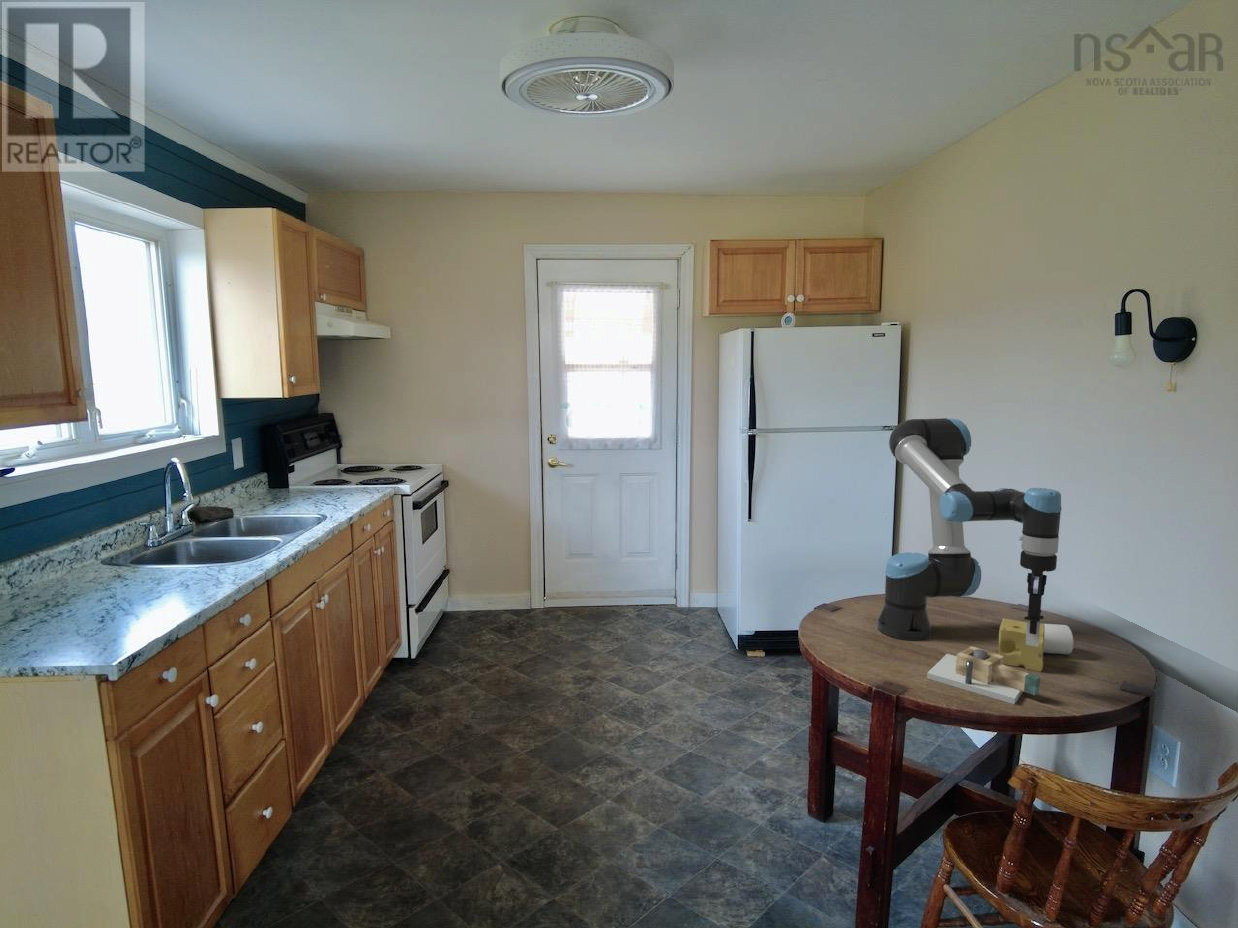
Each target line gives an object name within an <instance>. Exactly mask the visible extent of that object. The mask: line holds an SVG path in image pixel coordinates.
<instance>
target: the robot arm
mask: <svg viewBox="0 0 1238 928" xmlns="http://www.w3.org/2000/svg"><path fill="white" fill-rule="evenodd" d="M888 443H889V444H888V445H889V449H890V452H891V454H892V456H893V457H894V458H895V459H896V460H897V461H898V462H899V463H900V464H903V465H906V466H907V467H908V468H909V469H910V470H911V471H912V472H913V473H914V474H915V475H916V476H917V477H918V479H920V480H921V481H922V482H923V483H924V485H925V486H927V488H928V489H929V490H928V492H929V504H930V505H929V506H930V522H931V524H930V525H931V535H932V537H931V538H932V547H931V548H930V549H929V550H928V551H927V553H928V554H927V555H926V554H924V553H920V552H910V551H909V552H901V553H897V554H893V555H891V556H890V557H889V558H888V559H887V562H886V567H885V587H884V590H885V591H884V605H883V607H882V609H881V611H880V614H879V616H878V618H877V624H876V625H877V628H876V629H877V630H878V631H879V632H880V633H882V634H883V635H886V636H888V637H891V638H895V639H898V640H904V641H905V640H906V641H921V640H927V639H929V638H930V637H931V636H932V624H931V621H930V617H929V614H928V610H927V603H928V601H927V600H928V598H929V599H930V598H961V597H969V596H971V595H973V594H975V593H976V591H978V589H979V587H980V585H981V580H982V568H981V565H979V562H978V560H977V559H976V558H975V557H972V555H971V554H972V553H971V550H969V548H967V547H966V545H965V533H964V523H966V522H981V521H982V522H983V521H986V522H987V521H988V522H989V521H991V522H992V521H1014V522H1016V523H1017V522H1018V523H1021V524H1022V532H1021V533H1022V536H1019V538H1018V540H1019V541H1021V549H1022V551H1021V552H1020V560H1019V564H1020V567H1022V568H1023V569H1027V570H1031V572H1027V579H1026V582H1027V593H1028V597H1029V598H1028V609H1027V610H1028V611H1027V616H1024V618H1023V620H1026V622H1027V631H1026V645H1031V646H1036V647H1038V645H1039V633H1040V623H1041V620H1044V618H1045V615H1041V613H1042V610H1041V609H1042V597H1043V596H1044V594H1045V591H1046V590H1045V587H1046V585H1047V577H1048V575H1046V574H1044V572H1053V571H1055V570H1056V569H1057V564H1058V563H1057V561H1058V556H1057V555H1056V554H1057V553H1058V552H1059V542H1060V541H1059V538H1060V537H1059V535H1060V525H1061V515H1062V514H1061V513H1062V494H1061V493H1060V491H1059V490H1056V489H1052V488H1045V487H1044V488H1043V487H1032V488H1027V489H1026V490H1025V492H1024V491H1019V490H1016V489H1014V488H1007V487H1006V488H1004V487H1002V488H998V489H996V490H991V491H990V490H987V491H979V490H978V491H975V490H973V489H972V487H970V486H969V485H968V484H967V483H965V482H964V481H963V480H962V478H960V468H959V467H960V466H961V465H962V464H963V463H964V462H965V459H964V457H965V456H967V455H968V454H969V452H970V451H971V447H972V436H971V433H970V429H969V428H968V426H967V424H965V423H964V422H963V421H962V420H960V419H956V418H947V417H944V418H912V419H907V420H904V421H902V422H900V423H899V424H898V425H896V426H895V428H893V430H892V432H891V433H890V436H889V441H888ZM963 522H964V523H963Z"/></svg>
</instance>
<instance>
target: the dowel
mask: <svg viewBox="0 0 1238 928" xmlns="http://www.w3.org/2000/svg"><path fill="white" fill-rule="evenodd" d="M972 670H973V662H971V661H967V664H966V678H965V683H966V684H972Z"/></svg>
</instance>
